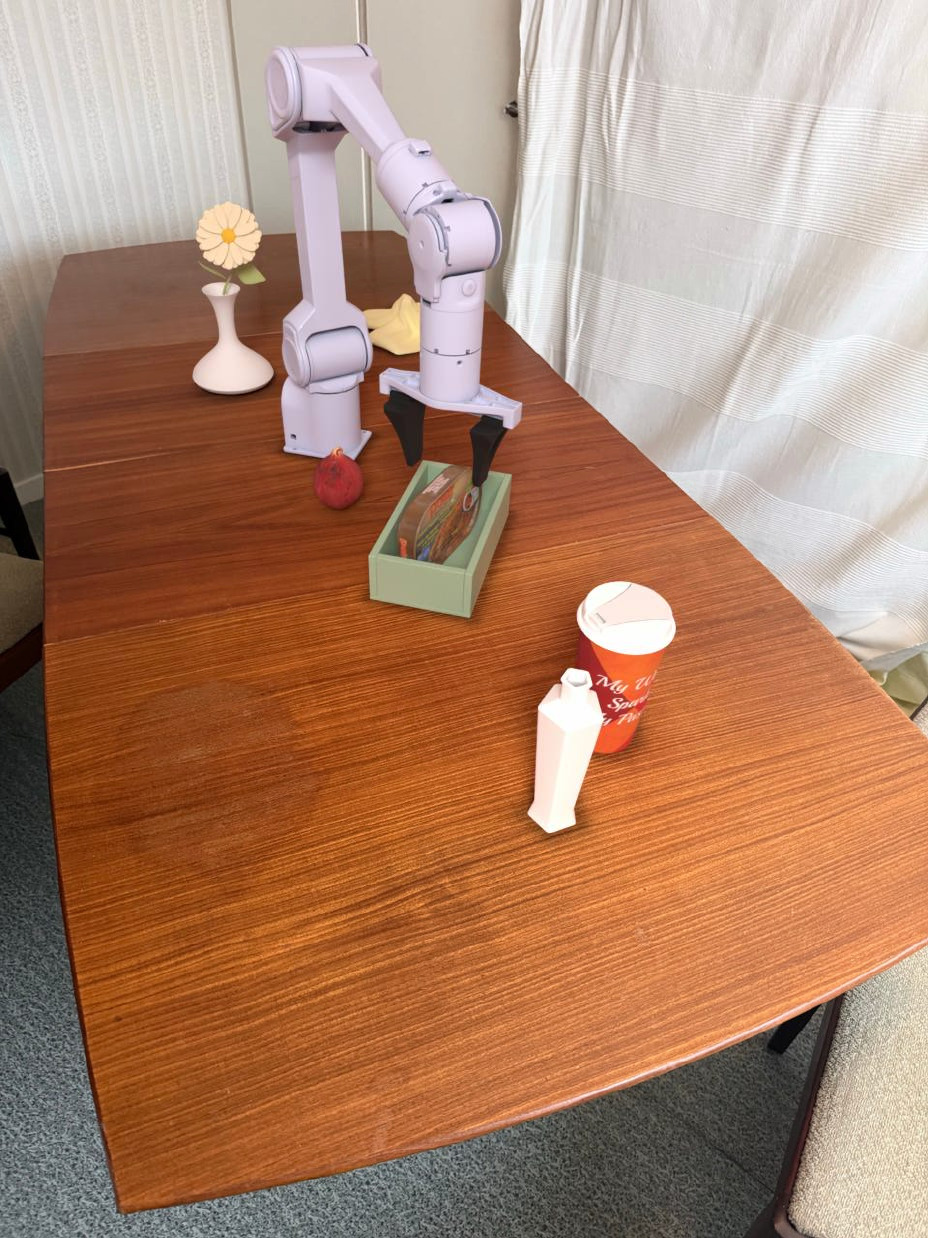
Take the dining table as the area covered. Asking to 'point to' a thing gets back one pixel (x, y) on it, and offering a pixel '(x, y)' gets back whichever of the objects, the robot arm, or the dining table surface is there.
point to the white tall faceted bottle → (564, 748)
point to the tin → (439, 517)
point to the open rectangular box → (462, 570)
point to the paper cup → (622, 654)
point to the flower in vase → (230, 301)
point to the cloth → (396, 326)
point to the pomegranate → (338, 480)
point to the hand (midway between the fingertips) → (446, 472)
